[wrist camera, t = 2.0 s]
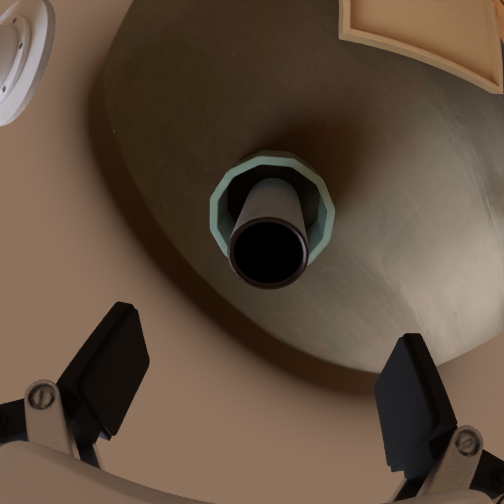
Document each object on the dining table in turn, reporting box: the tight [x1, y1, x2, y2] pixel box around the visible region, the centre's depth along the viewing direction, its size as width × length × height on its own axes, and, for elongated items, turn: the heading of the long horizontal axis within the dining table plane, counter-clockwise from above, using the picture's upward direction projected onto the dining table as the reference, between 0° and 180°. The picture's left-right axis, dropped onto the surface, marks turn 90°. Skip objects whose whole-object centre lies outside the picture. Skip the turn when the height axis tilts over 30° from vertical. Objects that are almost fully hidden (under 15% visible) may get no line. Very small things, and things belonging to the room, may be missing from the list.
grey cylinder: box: [227, 178, 309, 290], centre depth 20 cm, size 4×4×10 cm
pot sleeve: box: [210, 150, 335, 265], centre depth 23 cm, size 9×9×4 cm
